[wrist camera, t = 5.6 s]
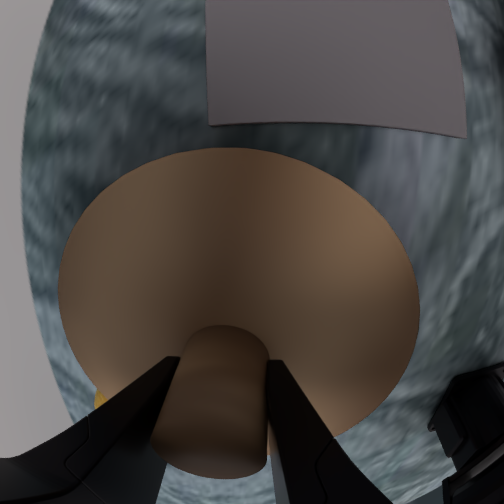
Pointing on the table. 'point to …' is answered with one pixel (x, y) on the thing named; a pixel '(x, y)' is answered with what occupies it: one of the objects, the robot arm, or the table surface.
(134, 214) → the lid
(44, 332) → the table surface
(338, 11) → the mat
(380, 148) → the table surface
